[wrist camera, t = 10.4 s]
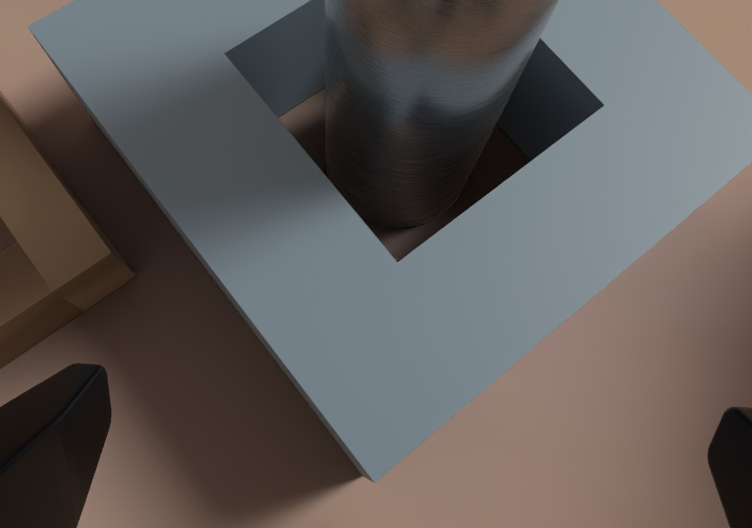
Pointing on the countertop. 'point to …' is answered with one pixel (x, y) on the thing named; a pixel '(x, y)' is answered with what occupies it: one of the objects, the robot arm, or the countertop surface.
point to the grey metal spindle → (418, 96)
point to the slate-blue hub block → (349, 232)
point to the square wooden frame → (45, 245)
